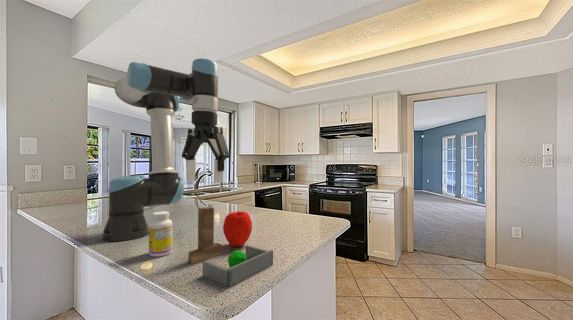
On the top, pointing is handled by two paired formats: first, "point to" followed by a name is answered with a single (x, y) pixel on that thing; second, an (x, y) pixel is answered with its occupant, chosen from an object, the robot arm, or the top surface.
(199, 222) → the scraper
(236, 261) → the polyhedron
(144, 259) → the top surface
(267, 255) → the tray
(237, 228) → the apple
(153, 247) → the supplement bottle
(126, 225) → the robot arm
